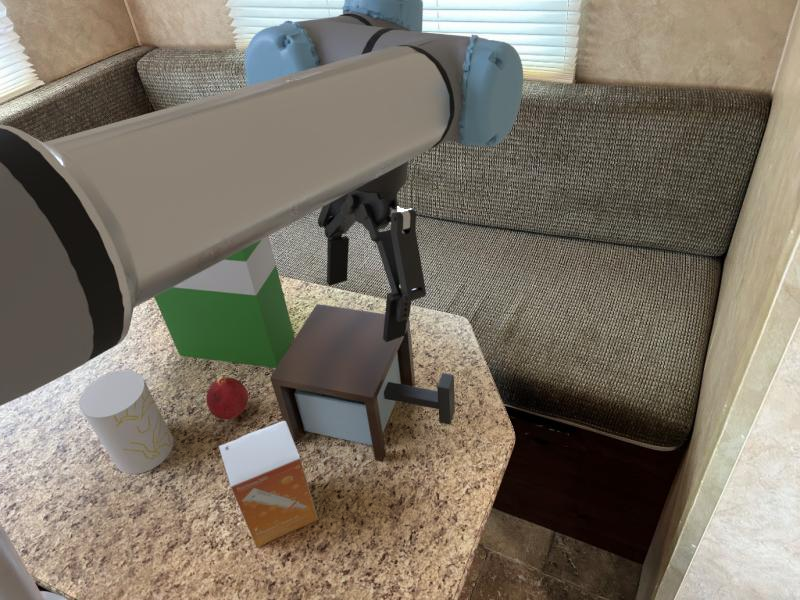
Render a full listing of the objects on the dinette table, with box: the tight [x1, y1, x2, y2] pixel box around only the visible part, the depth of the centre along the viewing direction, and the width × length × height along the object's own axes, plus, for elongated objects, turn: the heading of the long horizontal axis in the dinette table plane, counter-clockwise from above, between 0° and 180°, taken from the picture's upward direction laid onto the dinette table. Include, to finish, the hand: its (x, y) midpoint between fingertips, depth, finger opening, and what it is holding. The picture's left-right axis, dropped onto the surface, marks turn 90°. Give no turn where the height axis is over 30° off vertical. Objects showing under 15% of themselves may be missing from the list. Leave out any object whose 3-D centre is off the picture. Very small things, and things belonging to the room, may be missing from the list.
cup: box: [78, 369, 174, 475], centre depth 82 cm, size 8×8×12 cm
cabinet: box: [269, 303, 416, 463], centre depth 84 cm, size 14×15×13 cm
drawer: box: [294, 353, 456, 446], centre depth 84 cm, size 20×11×10 cm, turn 72°
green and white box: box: [153, 235, 295, 369], centre depth 94 cm, size 18×7×24 cm, turn 76°
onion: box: [205, 375, 249, 421], centre depth 87 cm, size 6×6×8 cm
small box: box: [218, 420, 319, 548], centre depth 72 cm, size 8×6×13 cm
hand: (363, 308), depth 77 cm, fingers open, 13 cm apart
